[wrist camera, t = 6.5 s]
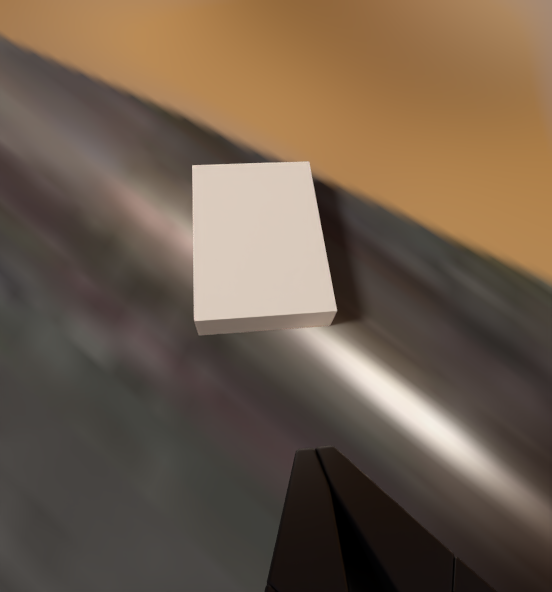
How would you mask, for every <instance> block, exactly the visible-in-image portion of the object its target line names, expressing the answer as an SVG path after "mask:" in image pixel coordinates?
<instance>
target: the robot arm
mask: <svg viewBox="0 0 552 592" xmlns="http://www.w3.org/2000/svg"><path fill="white" fill-rule="evenodd" d="M265 592H497V591H496V590H495V589H493V588H492V587H491V586H490V585H489V584H488V583H486V582H485V581H484V580H483V579H482V578H481V577H479V576H478V575H477V574H476V573H475V572H474V571H473V570H471V569H470V568H469V567H468V566H467V565H466V564H465V563H464V562H463V561H461V560H460V559H459V558H458V557H455V558H454V554H453V553H452V552H451V551H450V550H449V549H448V548H447V547H446V546H444V545H443V544H442V543H441V542H440V541H439V540H438V539H437V538H436V537H434V536H433V535H432V534H431V533H430V532H429V531H428V530H427V529H426V528H424V527H423V526H422V525H421V524H420V523H419V522H418V521H417V520H415V519H414V518H413V517H412V516H411V515H410V514H409V513H408V512H407V511H405V510H404V509H403V508H402V507H401V506H400V505H399V504H398V503H397V502H395V501H394V500H393V499H392V498H391V497H390V496H389V495H388V494H386V493H385V492H384V491H383V490H382V489H381V488H380V487H379V486H378V485H376V484H375V483H374V482H373V481H372V480H371V479H370V478H369V477H368V476H366V475H365V474H364V473H363V472H362V471H361V470H360V469H359V468H358V467H356V466H355V465H354V464H353V463H352V462H351V461H350V460H349V459H347V458H346V457H345V456H344V455H343V454H342V453H341V452H340V451H339V450H337V449H336V448H335V447H334V446H322V447H317V448H316V449H314V448H304V449H298V450H297V451H296V453H295V458H294V462H293V467H292V471H291V476H290V480H289V485H288V489H287V494H286V498H285V503H284V507H283V512H282V516H281V521H280V525H279V530H278V534H277V539H276V543H275V548H274V552H273V557H272V561H271V566H270V570H269V575H268V579H267V586H266V587H265Z"/></svg>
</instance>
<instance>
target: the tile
mask: <svg viewBox="0 0 552 592" xmlns="http://www.w3.org/2000/svg"><path fill="white" fill-rule="evenodd" d="M192 178H193V270H194V323H195V326H196V329H197V332H198V335H212V334H225V333H239V332H253V331H266V330H280V329H293V328H307V327H320V326H330V325H331V323H332V321H333V319H334V317H335V314H336V312H337V308H336V302H335V297H334V292H333V286H332V281H331V276H330V270H329V265H328V260H327V254H326V249H325V244H324V239H323V233H322V228H321V223H320V217H319V212H318V207H317V201H316V196H315V191H314V185H313V180H312V175H311V169H310V164H309V162H280V163H249V164H218V165H192Z"/></svg>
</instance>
